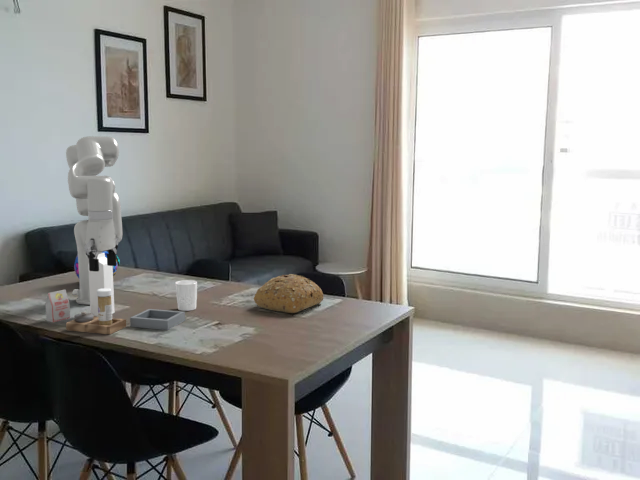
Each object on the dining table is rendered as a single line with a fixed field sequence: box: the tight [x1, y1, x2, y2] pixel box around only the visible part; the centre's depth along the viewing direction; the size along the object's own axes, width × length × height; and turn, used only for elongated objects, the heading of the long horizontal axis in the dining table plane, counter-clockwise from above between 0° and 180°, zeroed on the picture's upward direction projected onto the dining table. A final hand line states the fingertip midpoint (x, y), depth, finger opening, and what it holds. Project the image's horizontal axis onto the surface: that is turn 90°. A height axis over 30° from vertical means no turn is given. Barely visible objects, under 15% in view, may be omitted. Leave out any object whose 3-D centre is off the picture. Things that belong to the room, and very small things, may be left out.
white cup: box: [174, 279, 198, 312], centre depth 242 cm, size 8×8×10 cm
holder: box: [65, 311, 127, 335], centre depth 217 cm, size 16×9×5 cm, turn 74°
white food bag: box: [45, 289, 71, 323], centre depth 227 cm, size 4×7×10 cm, turn 145°
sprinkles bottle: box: [97, 288, 113, 326], centre depth 215 cm, size 5×5×14 cm
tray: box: [129, 308, 186, 331], centre depth 223 cm, size 14×12×3 cm
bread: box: [253, 273, 324, 314], centre depth 247 cm, size 24×21×12 cm
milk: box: [88, 253, 116, 317], centre depth 233 cm, size 6×6×22 cm
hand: (103, 268), depth 213 cm, fingers open, 9 cm apart
